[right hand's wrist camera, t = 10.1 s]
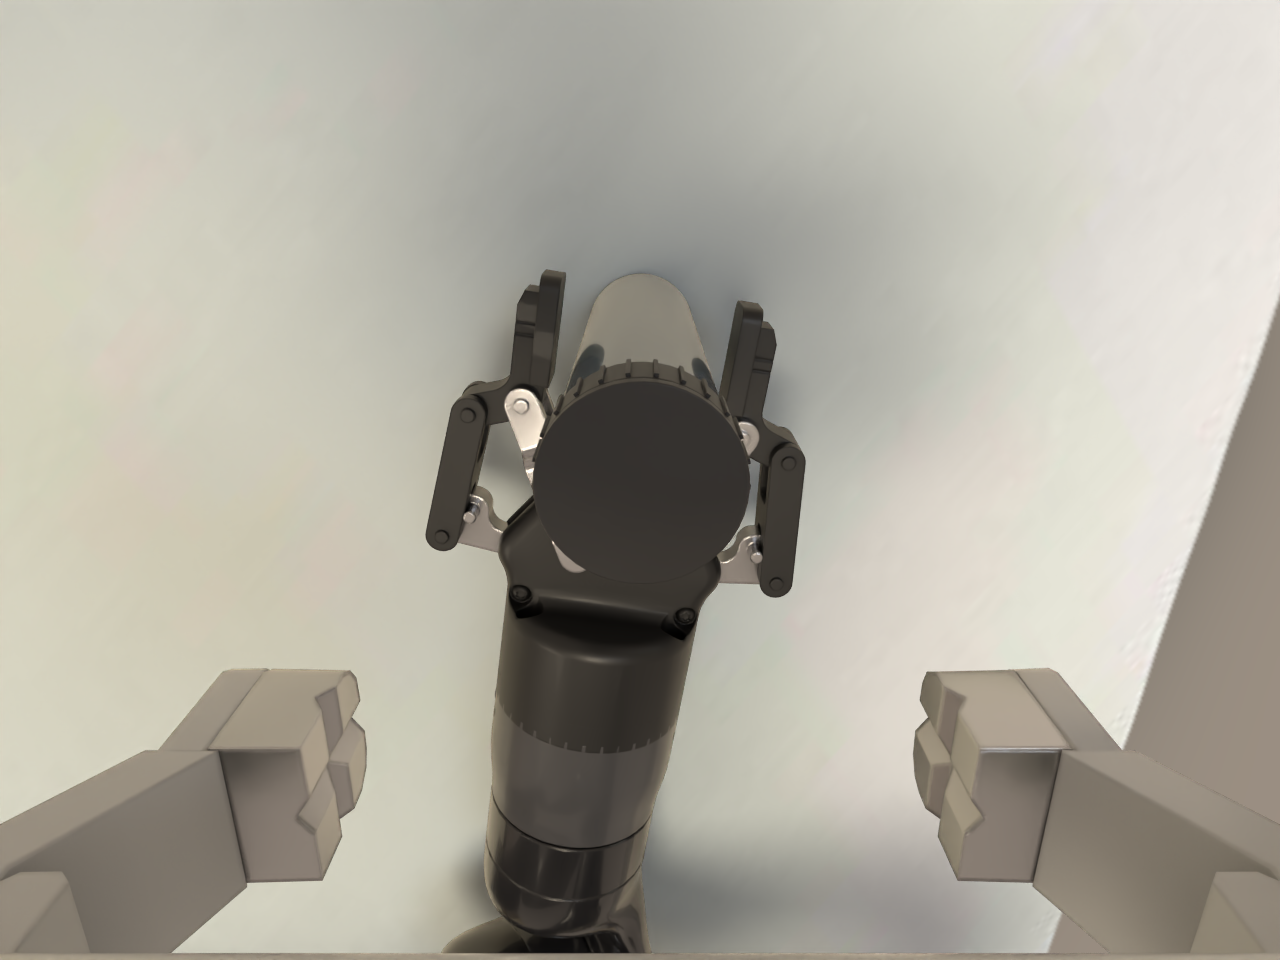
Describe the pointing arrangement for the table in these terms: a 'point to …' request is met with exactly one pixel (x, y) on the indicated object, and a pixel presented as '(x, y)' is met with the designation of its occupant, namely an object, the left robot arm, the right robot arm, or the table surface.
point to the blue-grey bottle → (640, 329)
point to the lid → (641, 473)
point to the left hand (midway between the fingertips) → (651, 290)
